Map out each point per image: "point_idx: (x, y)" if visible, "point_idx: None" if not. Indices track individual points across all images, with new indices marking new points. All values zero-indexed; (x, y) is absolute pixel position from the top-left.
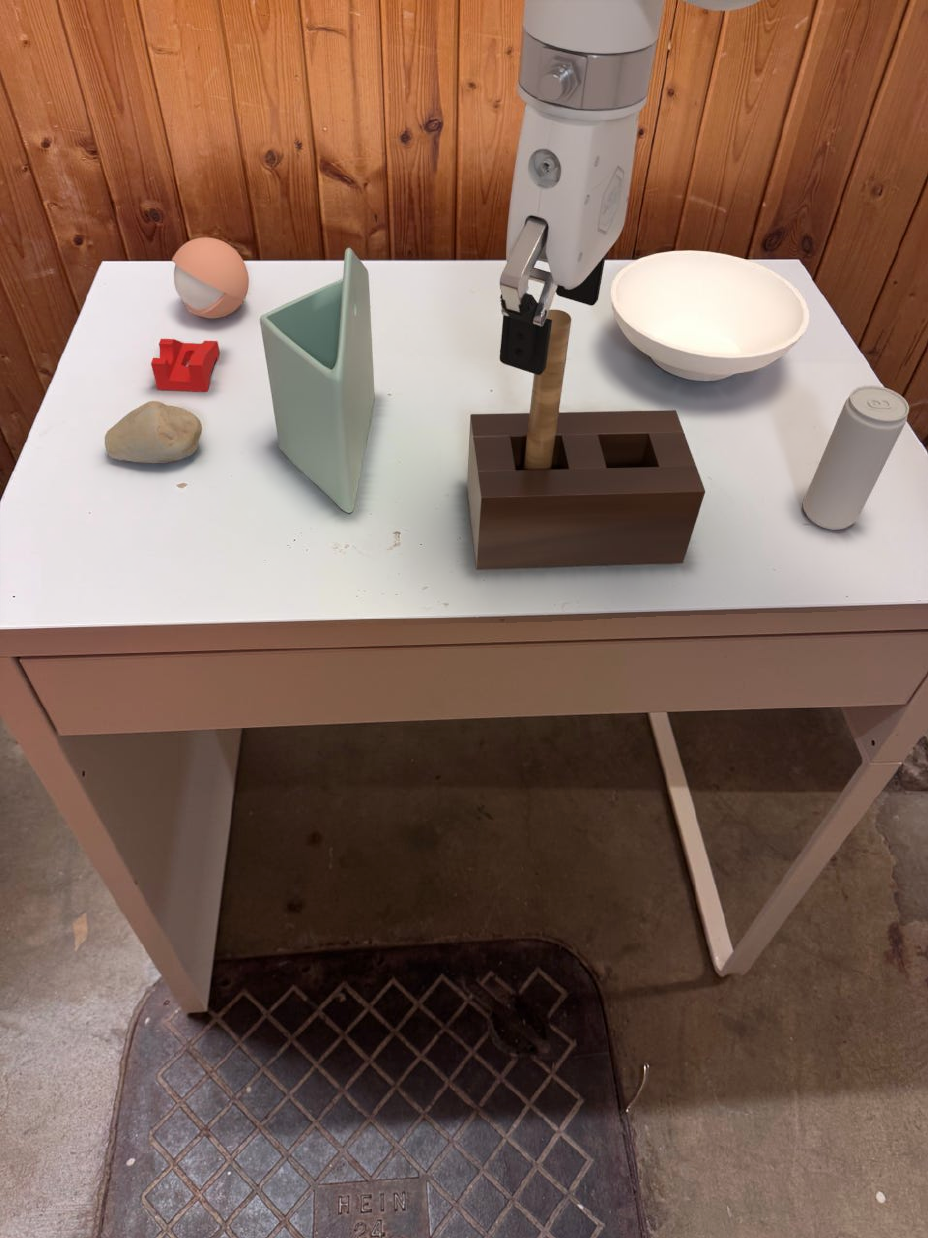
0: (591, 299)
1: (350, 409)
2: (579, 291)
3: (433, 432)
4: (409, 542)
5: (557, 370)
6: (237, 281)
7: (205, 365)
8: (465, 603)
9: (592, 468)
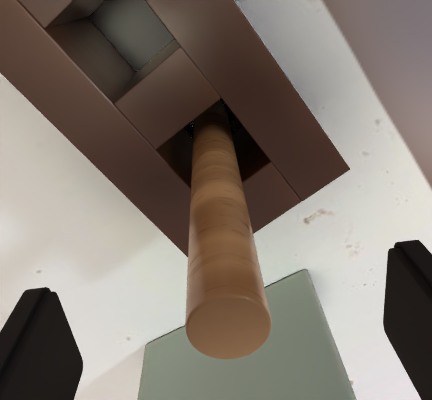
0: (51, 303)
1: (304, 369)
2: (58, 341)
3: (147, 278)
4: (312, 204)
5: (240, 223)
6: None
7: None
8: (366, 105)
9: (196, 66)
